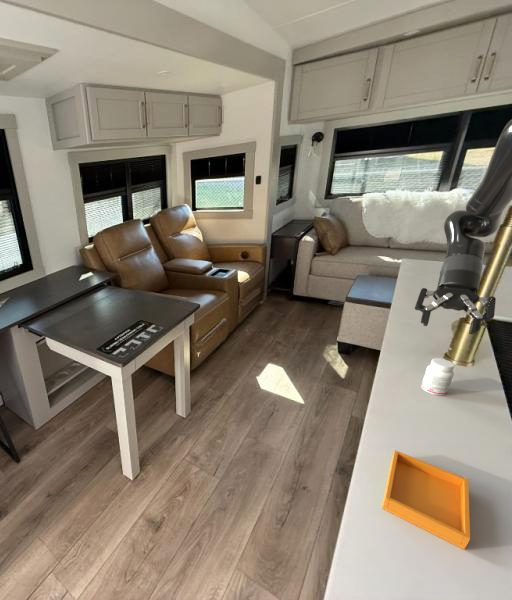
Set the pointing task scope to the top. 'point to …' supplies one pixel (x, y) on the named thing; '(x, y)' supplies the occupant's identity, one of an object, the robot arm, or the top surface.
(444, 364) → the pill bottle
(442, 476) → the amber tray
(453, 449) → the top surface
